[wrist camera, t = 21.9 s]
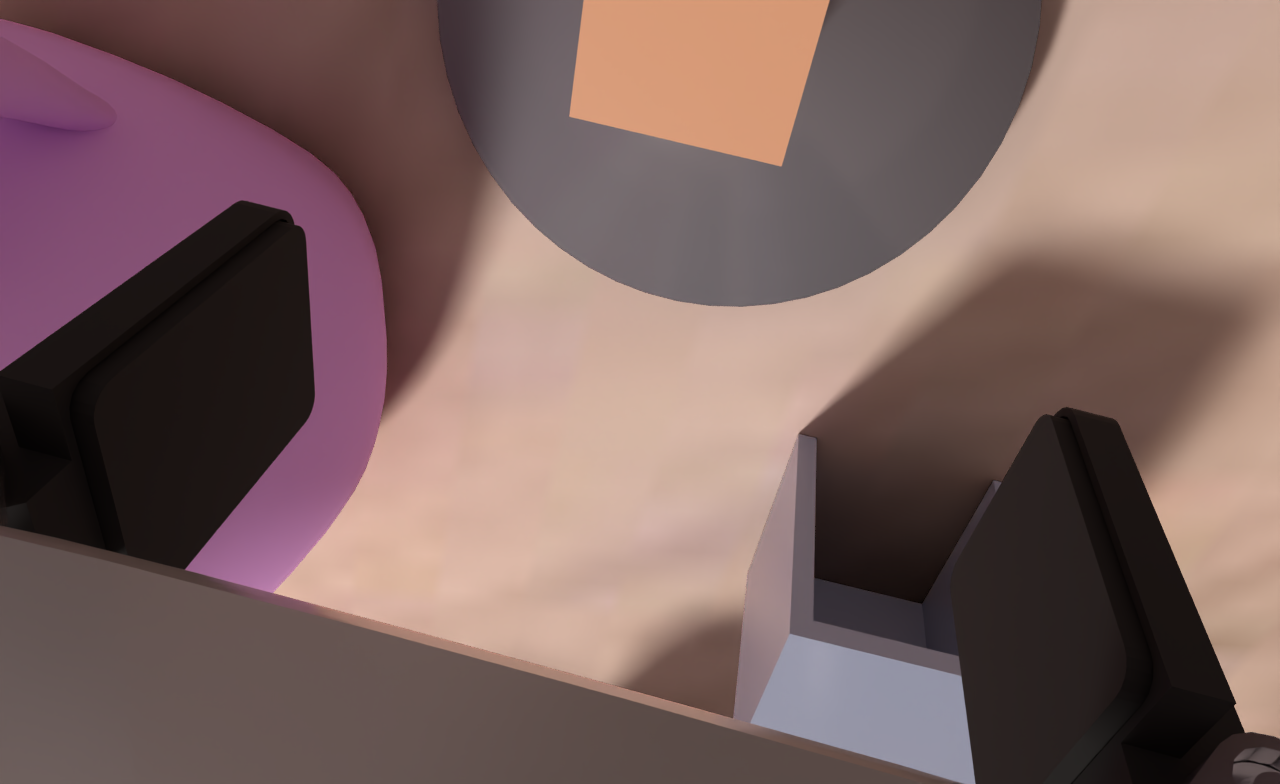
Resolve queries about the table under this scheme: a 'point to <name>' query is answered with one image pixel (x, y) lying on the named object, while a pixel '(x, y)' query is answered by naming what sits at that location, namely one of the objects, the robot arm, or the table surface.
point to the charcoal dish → (739, 187)
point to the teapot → (156, 222)
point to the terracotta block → (698, 70)
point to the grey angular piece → (849, 647)
